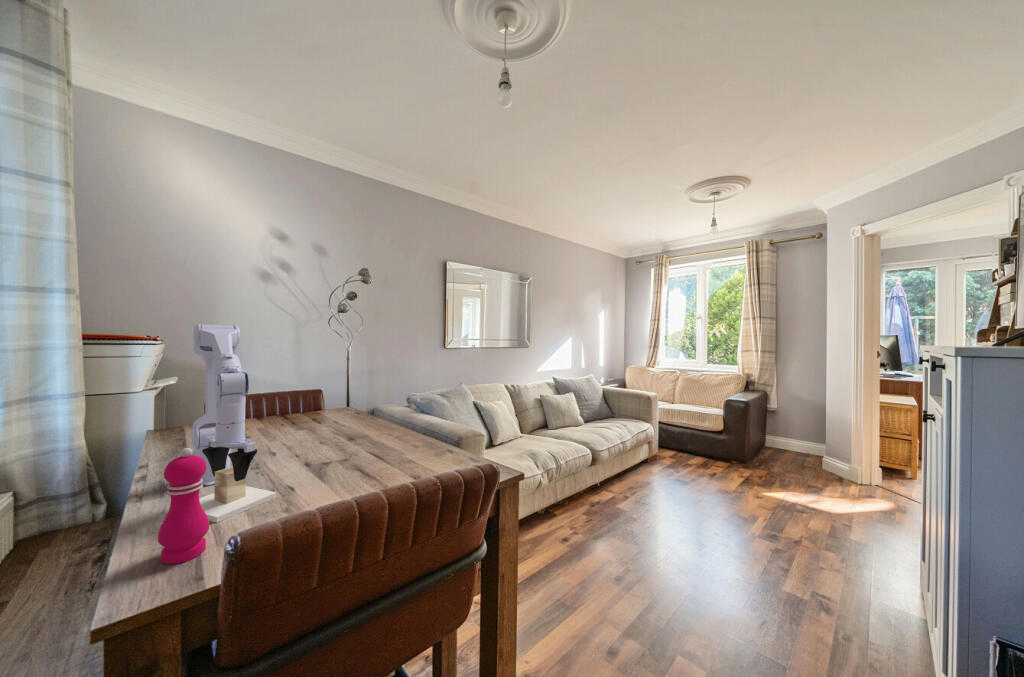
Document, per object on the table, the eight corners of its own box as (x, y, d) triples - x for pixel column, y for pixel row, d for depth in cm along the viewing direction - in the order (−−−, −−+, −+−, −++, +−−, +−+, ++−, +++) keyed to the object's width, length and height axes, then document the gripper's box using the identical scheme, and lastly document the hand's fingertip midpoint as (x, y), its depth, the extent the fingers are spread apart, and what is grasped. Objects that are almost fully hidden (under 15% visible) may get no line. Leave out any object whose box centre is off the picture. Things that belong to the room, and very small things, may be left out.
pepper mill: (164, 571, 64) (167, 456, 64) (151, 557, 68) (153, 449, 68) (215, 551, 70) (217, 446, 70) (200, 539, 74) (202, 440, 74)
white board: (176, 511, 85) (176, 506, 85) (238, 488, 98) (238, 484, 98) (216, 522, 81) (217, 517, 81) (276, 497, 94) (276, 492, 94)
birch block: (214, 500, 88) (214, 471, 88) (233, 493, 93) (234, 465, 93) (226, 503, 87) (227, 474, 87) (245, 496, 91) (246, 468, 91)
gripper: (192, 422, 88) (191, 478, 88) (233, 428, 83) (232, 488, 83) (223, 416, 95) (222, 469, 95) (264, 422, 90) (262, 477, 90)
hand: (229, 477), depth 90 cm, fingers open, 7 cm apart
